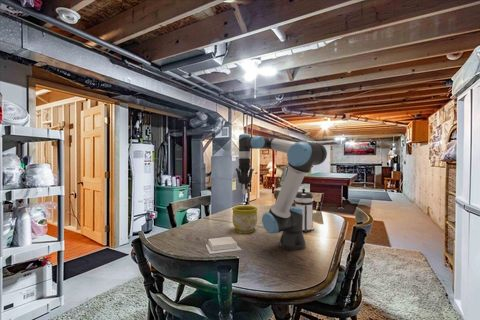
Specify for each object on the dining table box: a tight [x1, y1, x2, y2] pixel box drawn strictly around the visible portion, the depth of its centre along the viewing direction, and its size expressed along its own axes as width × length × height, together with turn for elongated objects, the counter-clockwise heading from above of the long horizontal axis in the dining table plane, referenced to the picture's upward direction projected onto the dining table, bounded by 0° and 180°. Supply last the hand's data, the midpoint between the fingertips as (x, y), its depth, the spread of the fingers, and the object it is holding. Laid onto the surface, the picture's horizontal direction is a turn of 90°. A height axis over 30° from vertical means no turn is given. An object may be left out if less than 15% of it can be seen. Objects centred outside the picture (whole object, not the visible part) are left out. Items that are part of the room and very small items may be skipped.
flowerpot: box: [231, 205, 258, 234], centre depth 176 cm, size 18×18×16 cm
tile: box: [207, 236, 238, 251], centre depth 145 cm, size 3×14×12 cm
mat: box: [205, 243, 242, 255], centre depth 143 cm, size 14×18×1 cm
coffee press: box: [293, 188, 315, 234], centre depth 177 cm, size 17×16×30 cm
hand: (244, 193), depth 162 cm, fingers closed
